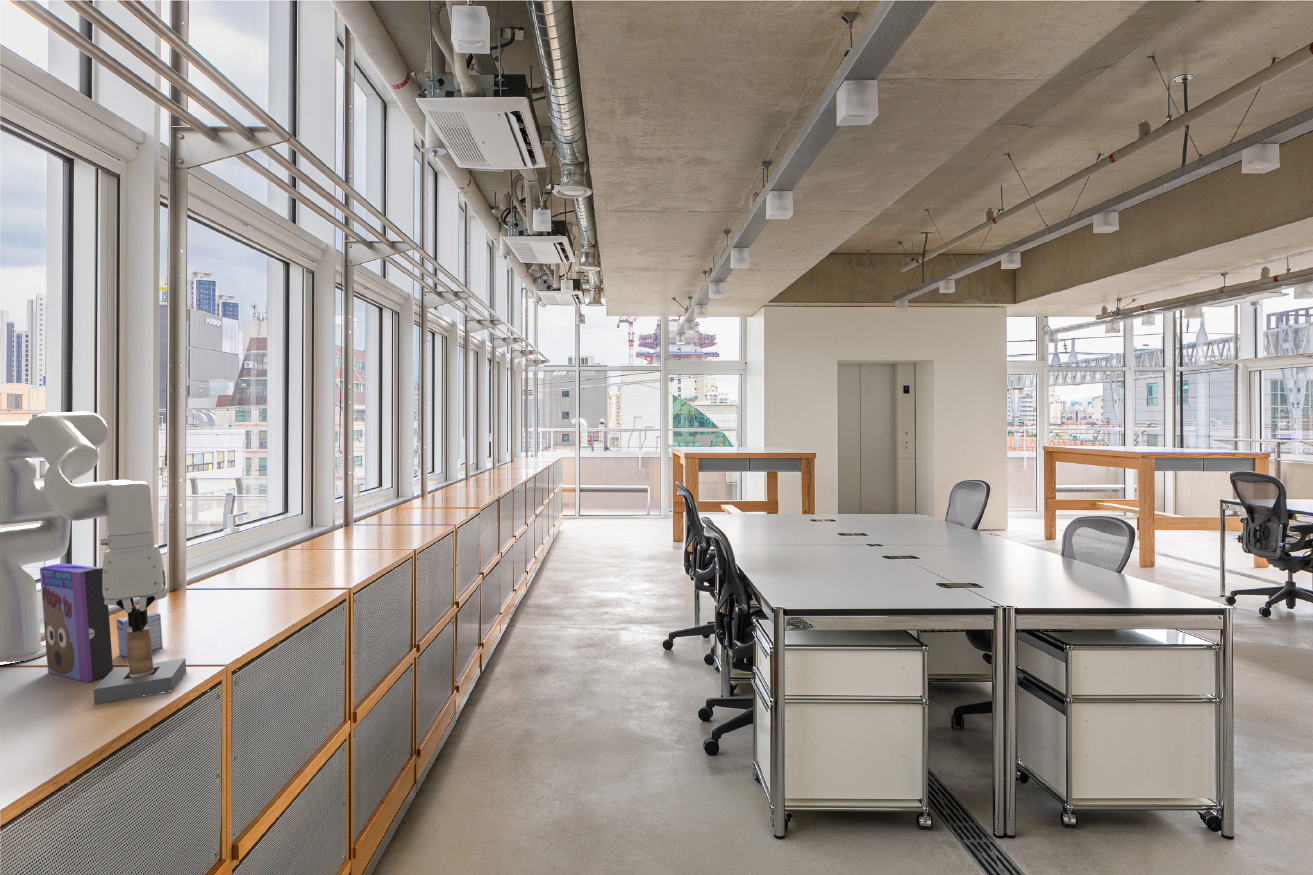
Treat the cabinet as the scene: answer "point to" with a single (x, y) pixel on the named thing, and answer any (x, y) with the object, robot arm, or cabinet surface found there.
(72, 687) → the cabinet surface
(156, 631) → the medicine box
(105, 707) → the cabinet surface
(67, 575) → the cereal box
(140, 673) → the peg
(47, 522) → the robot arm
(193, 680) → the cabinet surface
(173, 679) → the board
